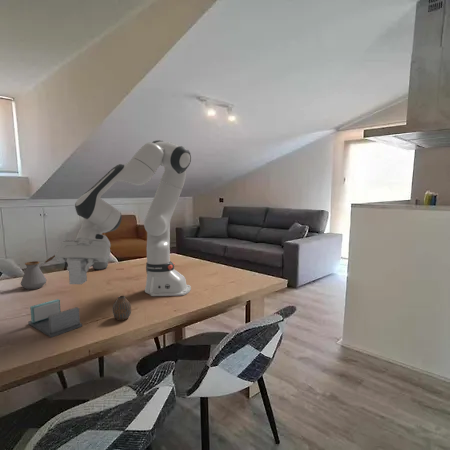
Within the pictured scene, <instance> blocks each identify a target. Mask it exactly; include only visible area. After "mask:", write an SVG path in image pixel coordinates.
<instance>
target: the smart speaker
mask: <svg viewBox="0 0 450 450" xmlns="http://www.w3.org/2000/svg"><path fill="white" fill-rule="evenodd" d="M108 266H109V260H108V261H107V262H94V263H93V265H92V266H91V267H92V268H93V269H94V270H95V271H100V270H101V271H102V270H106V269H107V268H108Z"/></svg>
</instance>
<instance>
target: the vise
mask: <svg viewBox="0 0 450 450" xmlns="http://www.w3.org/2000/svg"><path fill="white" fill-rule="evenodd" d="M27 323H28V325H29V326H31V327H33V328H34V329H36V330H38V331H40V333H43V334H44V335H46V336H48V337H49V338H54V337H57V336H60V335H62V334H65V333H68V332H71V331H73V330H75V329H80V328H82V327H83V323H81V319H80V308H79V307H78V306H77V307H73V308H70V309H67V310H63V311H61V312H59V313H56V314H53V315H49V316H48V319H45V320H41V321H38V322H35V323H32V322H31V320H29V321H28V322H27Z"/></svg>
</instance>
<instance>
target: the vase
mask: <svg viewBox="0 0 450 450" xmlns="http://www.w3.org/2000/svg"><path fill="white" fill-rule="evenodd" d="M112 314H113V317H114V318H115V319H116V320H117V321H126V320H127V319H128V318H130V316H131V314H132V305H131V302H130V301H129V300H128V299H127V298H126V297H125V295H119V296H118V297H117V299H116V300H115V302H114V303H113V305H112Z"/></svg>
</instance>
